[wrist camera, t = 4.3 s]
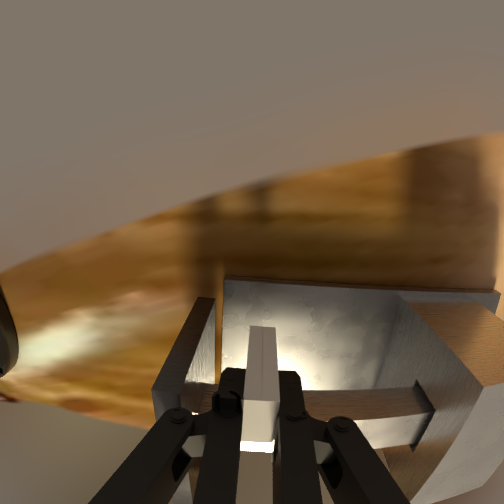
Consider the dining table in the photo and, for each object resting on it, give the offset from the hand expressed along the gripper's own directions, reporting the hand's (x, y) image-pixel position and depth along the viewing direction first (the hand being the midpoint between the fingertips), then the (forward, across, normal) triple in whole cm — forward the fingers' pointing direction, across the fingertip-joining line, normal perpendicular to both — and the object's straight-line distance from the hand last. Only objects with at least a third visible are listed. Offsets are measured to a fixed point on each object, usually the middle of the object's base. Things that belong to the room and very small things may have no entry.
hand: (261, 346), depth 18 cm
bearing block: (+7, +10, -5) cm, 13 cm away
